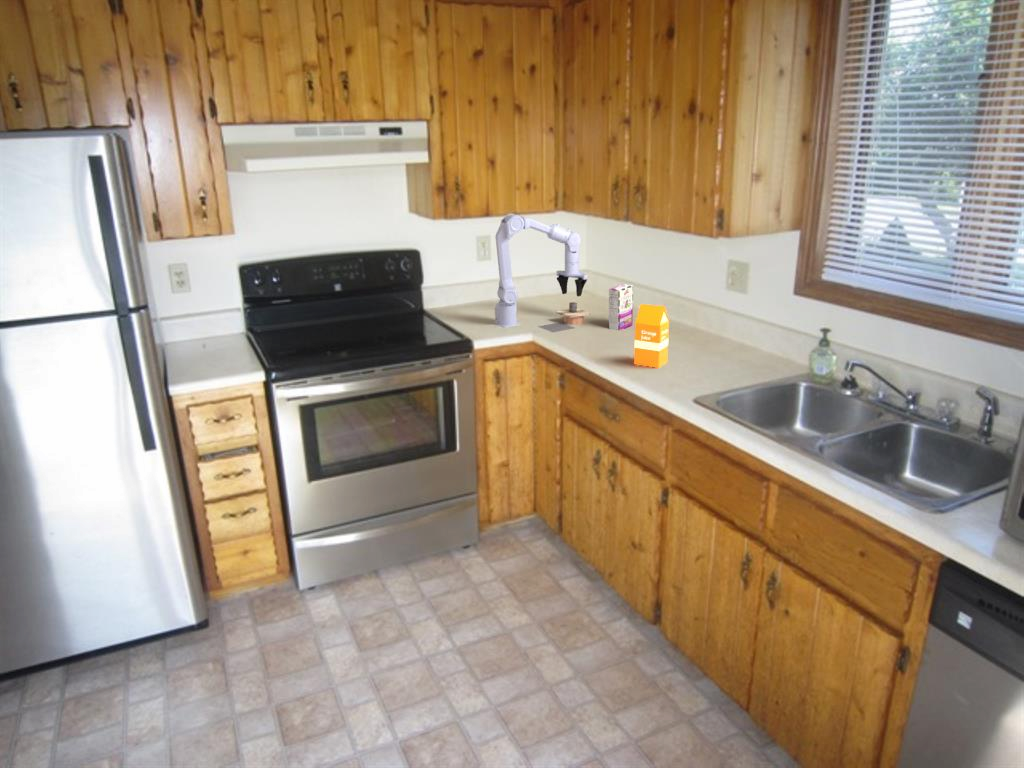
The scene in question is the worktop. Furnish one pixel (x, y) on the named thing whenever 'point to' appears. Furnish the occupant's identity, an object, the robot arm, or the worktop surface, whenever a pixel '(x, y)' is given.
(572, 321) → the bowl
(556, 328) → the mat
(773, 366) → the worktop surface
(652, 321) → the orange juice
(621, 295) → the candy bar box
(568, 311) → the lid
